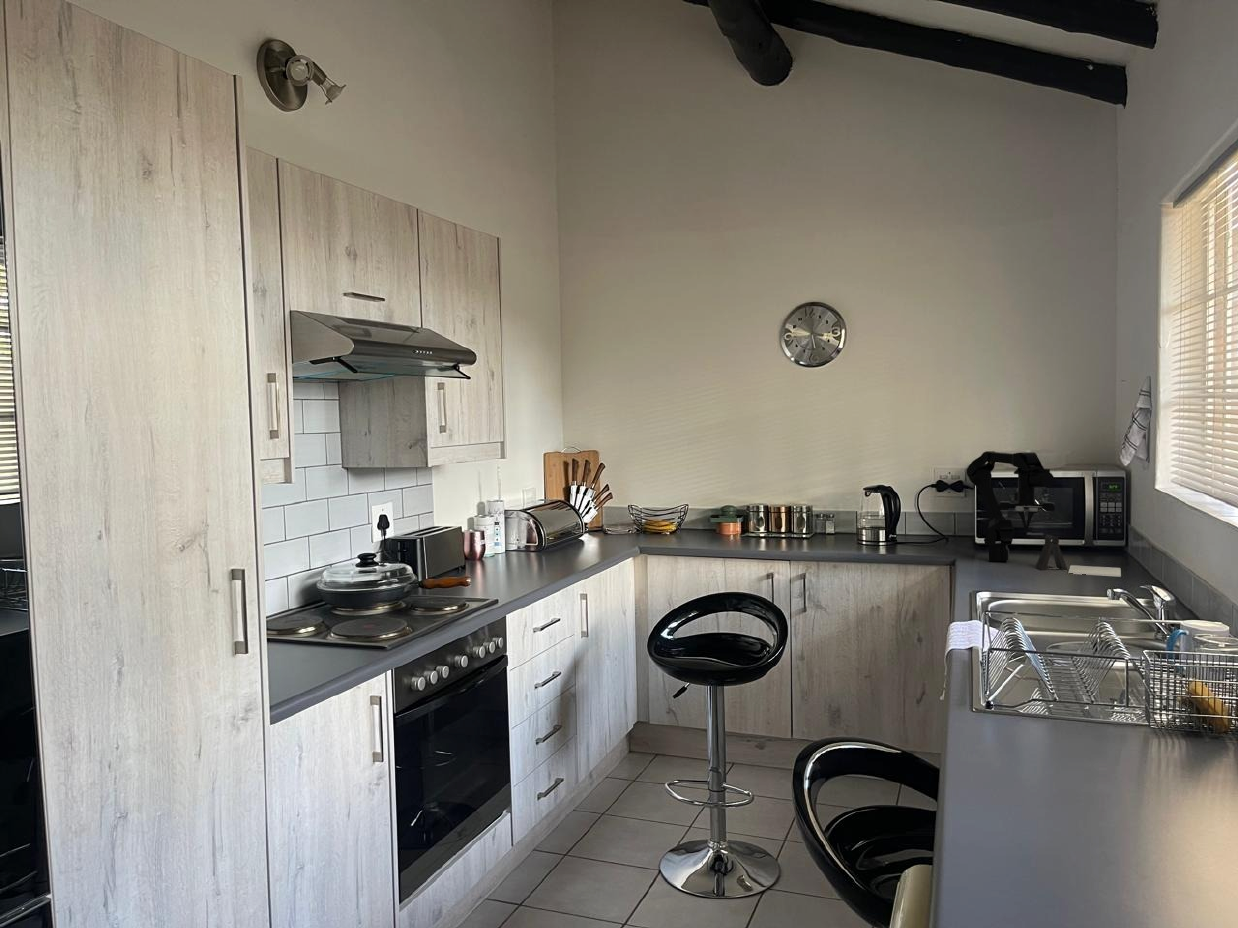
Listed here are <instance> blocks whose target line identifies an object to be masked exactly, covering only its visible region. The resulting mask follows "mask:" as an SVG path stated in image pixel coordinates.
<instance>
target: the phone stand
mask: <svg viewBox="0 0 1238 928" xmlns="http://www.w3.org/2000/svg"><path fill="white" fill-rule="evenodd" d="M1059 543H1060V538H1059V537H1058V536H1055V535H1052V534H1046V535H1045V536H1044V545H1043V547H1042V549H1041V553H1040V555H1039V557H1038V560H1037V562H1036V565H1035V568H1036V567H1037V568H1039V569H1038V570H1040V569H1041V570H1040V571H1045V570H1054V569H1049V568H1047V567H1048V565H1049V561H1050V557H1051V555H1053V558H1054V562H1055V567H1057V568H1059V569H1055V570H1067V571H1069V569H1068V567H1067V564H1066V561H1065V560H1064V555H1063V553H1062V551H1061V548H1060V545H1059ZM1051 553H1052V554H1051ZM1037 568H1036V569H1037ZM1055 570H1054V571H1055Z"/></svg>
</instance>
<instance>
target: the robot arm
mask: <svg viewBox="0 0 1238 928" xmlns="http://www.w3.org/2000/svg"><path fill="white" fill-rule="evenodd" d="M996 463H999V464H1007V465H1012V466H1013V467H1015V468H1017V469H1016V470H1014V471H1013V474H1014V475H1017V477H1018V478H1017V492H1014V493H1013V494H1014V496H1013V497H1014V499H1013V501H1014V503H1012V502H1011V501H1002V500H1001V501H999V502H998V500H997V497H996V494H995V492H994V489H993V488H992V485H991V480H992V477H993V476H992V471H993V470H994V469H995V464H996ZM966 475H967V477H968V479H969V480H970V482H971V483H972V484H973V485H974V486H975V487H976V488H977V490H978V493H979V497H980V499H981V502H982V503H983V507H984V509H985V512H986V514H987V515H986V516H987V517H988V520H989V524H988V527H987V529H988V533H987V535H986V536H985V537H984V539H983V541H984V545H985V546H988V559H989V561H988V562H990V561H1007V562H1008V561H1009V559H1010V558H1009V557H1010V555H1009V554H1010V549H1009V548H1008V546H1011V545H1012V543H1013V541H1014V538H1015V537H1014V536H1015V531H1014V530H1015V528H1014V526H1013V523H1012V520H1011V519H1009V518H1007V519H1006V518H1005V517H1004V515H1003V513H1002V511H1008V510H1010V509H1015V513H1017V514H1018V515H1019V518H1020V520H1021V522H1022V524H1023V528H1024V530H1025V531H1028V530H1029V527H1030V524H1031V521H1032V518H1033V517H1034V515H1035V514H1037V513H1038V510H1044V511H1045V512H1055V511H1056V509H1055V508H1056V507H1055V506H1056V504H1055V502H1053V501H1052V502H1051V501H1049V502H1048V501H1047V502H1046V501H1044V502H1042V503H1036V489H1037V488H1040V489H1050V488H1052V487H1053V486H1054V484H1055V477H1054V474H1053V473H1052V472H1051V470H1050V468H1044V466H1043V464H1042V462H1041V460H1040V459H1039V457H1038V455H1037V453H1036V452H1033V451H1030V452H1029V451H1027V452H1026V451H1025V452H1023V451H1022V452H1015V453H1014V452H1013V453H1010V452H1009V453H1008V452H1001V451H1000V452H998V451H994V450H992V451H991V450H990V451H989V450H986V451H984V452H982V453H981V454H980V455H979V456H978V457H977V458H975V459H974V460H973V461H971V463H970V464H969V465H968V466H967V468H966ZM1025 509H1026V510H1028V513H1027V518H1026V514H1025V512H1026V511H1025ZM1026 519H1027V520H1026Z"/></svg>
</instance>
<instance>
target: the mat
mask: <svg viewBox="0 0 1238 928" xmlns="http://www.w3.org/2000/svg"><path fill="white" fill-rule="evenodd" d="M1121 571H1122V570H1121V567H1106V566H1091V565H1090V566H1087V565H1074V564H1073V565H1070V566H1069V569H1068V574H1069V573H1073V574H1072V575H1082V574H1086V576H1104V577H1105V576H1106V577H1120V578H1121V577H1122V574H1121V573H1122V572H1121Z"/></svg>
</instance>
